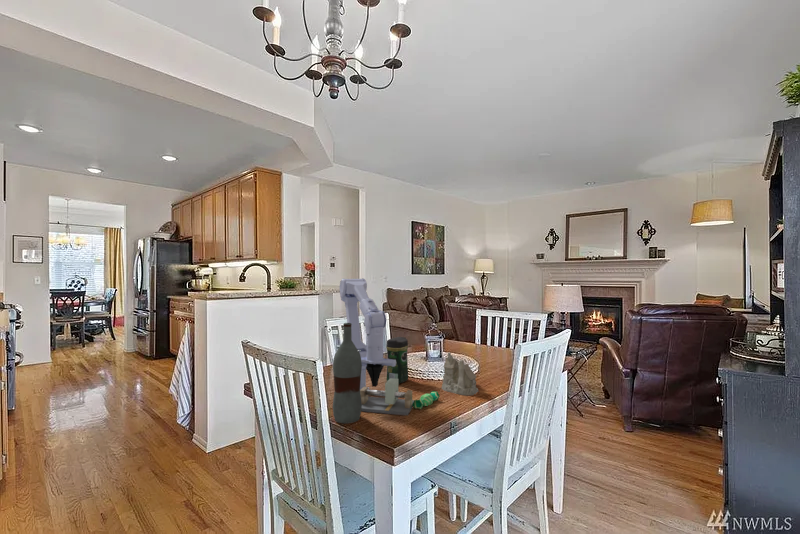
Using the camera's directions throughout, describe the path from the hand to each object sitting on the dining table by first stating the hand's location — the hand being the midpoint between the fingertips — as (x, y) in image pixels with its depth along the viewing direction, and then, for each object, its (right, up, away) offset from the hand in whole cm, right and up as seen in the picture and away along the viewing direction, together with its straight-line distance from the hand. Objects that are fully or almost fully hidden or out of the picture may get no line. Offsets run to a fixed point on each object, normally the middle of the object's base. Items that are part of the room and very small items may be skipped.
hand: (374, 385), depth 131 cm
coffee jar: (+8, -8, +30) cm, 32 cm away
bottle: (-8, -7, -12) cm, 16 cm away
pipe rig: (+4, -7, -1) cm, 8 cm away
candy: (+18, -7, +2) cm, 20 cm away
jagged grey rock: (+34, -8, +20) cm, 40 cm away
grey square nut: (+6, -5, -2) cm, 8 cm away
